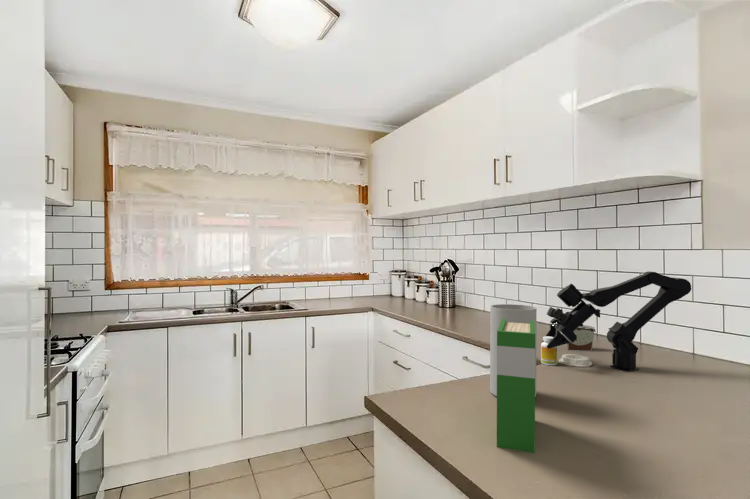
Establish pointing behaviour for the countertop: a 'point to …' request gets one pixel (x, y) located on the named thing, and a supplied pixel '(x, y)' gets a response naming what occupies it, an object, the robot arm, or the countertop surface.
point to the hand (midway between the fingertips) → (545, 344)
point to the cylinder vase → (496, 315)
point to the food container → (582, 339)
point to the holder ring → (575, 360)
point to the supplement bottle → (548, 352)
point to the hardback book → (516, 386)
